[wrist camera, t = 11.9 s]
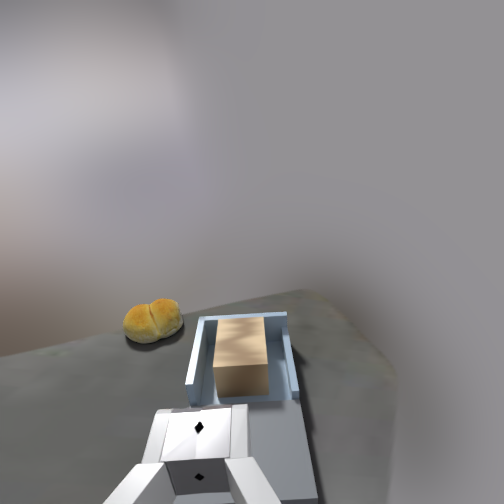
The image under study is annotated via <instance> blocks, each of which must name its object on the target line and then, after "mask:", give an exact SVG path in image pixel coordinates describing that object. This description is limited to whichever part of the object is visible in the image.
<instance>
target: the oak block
mask: <svg viewBox="0 0 504 504" xmlns="http://www.w3.org/2000/svg"><path fill="white" fill-rule="evenodd" d="M213 372H214V378H215V384H216V390H217V396H218V398H225V397H241V396H258V395H269V381H268V362H267V351H266V340H265V329H264V318H263V317H249V318H233V319H218V327H217V335H216V344H215V352H214V361H213Z"/></svg>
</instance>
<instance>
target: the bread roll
mask: <svg viewBox="0 0 504 504" xmlns="http://www.w3.org/2000/svg"><path fill="white" fill-rule="evenodd" d="M182 324H183V318H182V313H181V312H180V309H179V304H178V303H176V302H175V301H173V300H170V299H158V300H156V301H154V302H153V303H152V304H150V305H146V304H143V305H137V306H135V307H133V308H132V309H131V310H130V311H129V312H128V314H127V315H126V317H125V319H124V322H123V330H124V332H125V334H126V336H127V337H128V338H129V339H131V340H132V341H135V342H138V343H152V342H155V341H157V340H159V339H160V338H167V337H169V336H171V335H173V334H174V333H176V332H177V331H178V330H179V329H180V328H181V326H182Z"/></svg>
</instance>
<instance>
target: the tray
mask: <svg viewBox="0 0 504 504" xmlns="http://www.w3.org/2000/svg"><path fill="white" fill-rule="evenodd" d="M249 317H263V318H264V329H265V340H266V351H267V362H268V381H269V395H258V396H241V397H225V398H218V396H217V390H216V384H215V378H214V372H213V361H214V352H215V344H216V335H217V327H218V319H233V318H249ZM185 385H186V390H187V394H188V398H189V403H190V406H196V405H213V404H230V403H247V402H263V401H280V400H297V399H299V387H298V381H297V376H296V371H295V366H294V361H293V355H292V350H291V345H290V340H289V334H288V329H287V313H286V312H273V313H256V314H240V315H223V316H207V317H199V321H198V326H197V331H196V336H195V341H194V345H193V350H192V355H191V360H190V365H189V369H188V374H187V379H186V384H185Z"/></svg>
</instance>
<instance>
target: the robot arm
mask: <svg viewBox="0 0 504 504" xmlns="http://www.w3.org/2000/svg"><path fill="white" fill-rule="evenodd" d="M222 492H231V495H232V498H233V500H234V502H235V504H281V502H280V500H279V499H278V497H277V495H276V494H275V492H274V491H273V489H272V487H271V486H270V484H269V482H268V481H267V479H266V477H265V476H264V474H263V472H262V471H261V469H260V467H259V466H258V464H257V462H256V461H255V459H254V457H251V433H250V421H249V410H248V404H240V405H220V406H208V407H201V408H181V409H161V410H158V411H157V412H156V414H155V417H154V420H153V424H152V427H151V431H150V434H149V438H148V441H147V445H146V449H145V452H144V456H143V459H142V463H141V464H136V465H135V466H134V468H133V469H132V470H131V471H130V472H129V474H128V475H127V476H126V477H125V478H124V479H123V481H122V482H121V483H120V484H119V485H118V486H117V488H116V489H115V490H114V491H113V492H112V494H111V495H110V496H109V497H108V498H107V499H106V501H105V502H104V503H103V504H173V503H174V501H175V499H176V496H178V495H189V494H199V493H222Z"/></svg>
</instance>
